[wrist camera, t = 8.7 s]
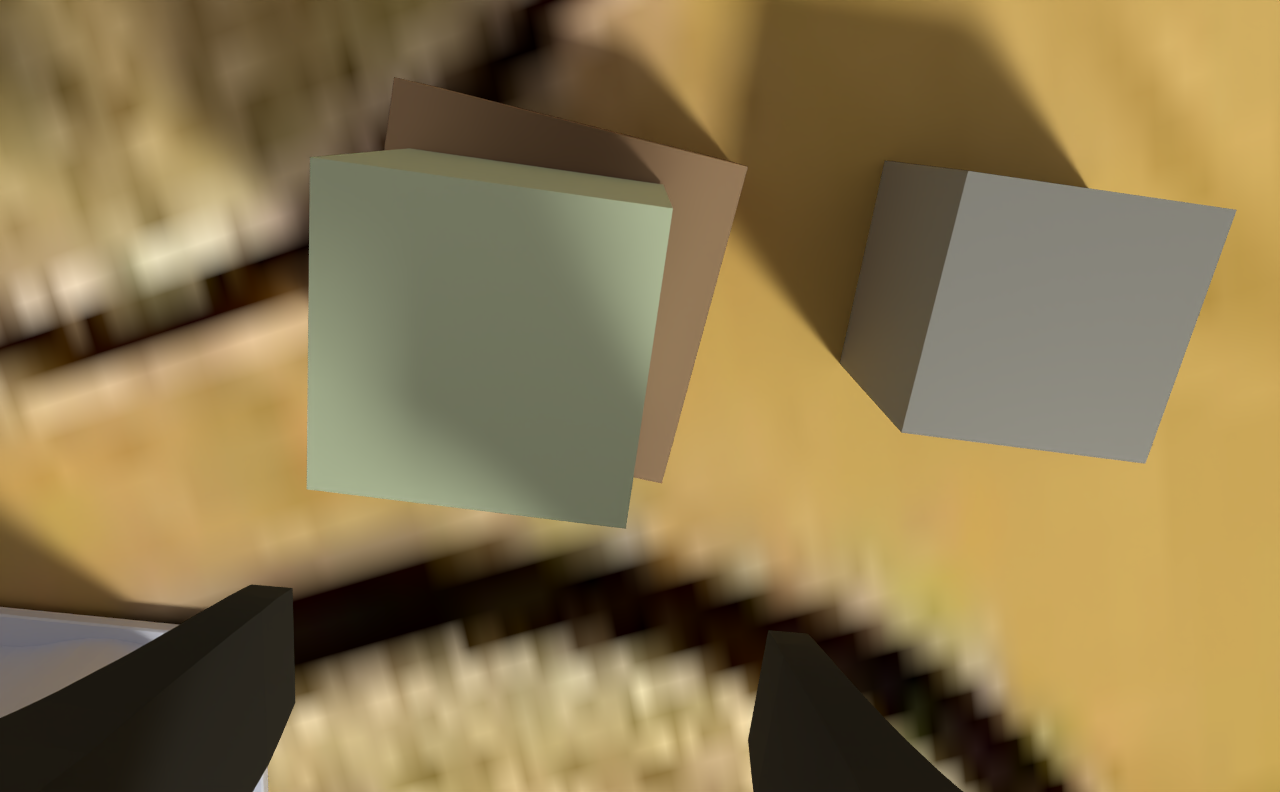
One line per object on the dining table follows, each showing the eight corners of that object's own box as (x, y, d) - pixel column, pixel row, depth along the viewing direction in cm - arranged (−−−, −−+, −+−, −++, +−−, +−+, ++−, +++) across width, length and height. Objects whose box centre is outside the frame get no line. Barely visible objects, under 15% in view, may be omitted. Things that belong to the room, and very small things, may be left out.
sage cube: (398, 389, 17) (307, 489, 13) (409, 148, 16) (309, 157, 11) (629, 420, 18) (626, 528, 13) (663, 184, 16) (672, 208, 11)
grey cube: (838, 362, 21) (901, 432, 16) (884, 160, 19) (968, 170, 14) (1028, 387, 21) (1145, 463, 16) (1087, 190, 19) (1236, 209, 15)
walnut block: (393, 369, 21) (347, 414, 18) (436, 86, 19) (394, 76, 15) (657, 428, 21) (661, 482, 18) (728, 160, 19) (747, 166, 16)
